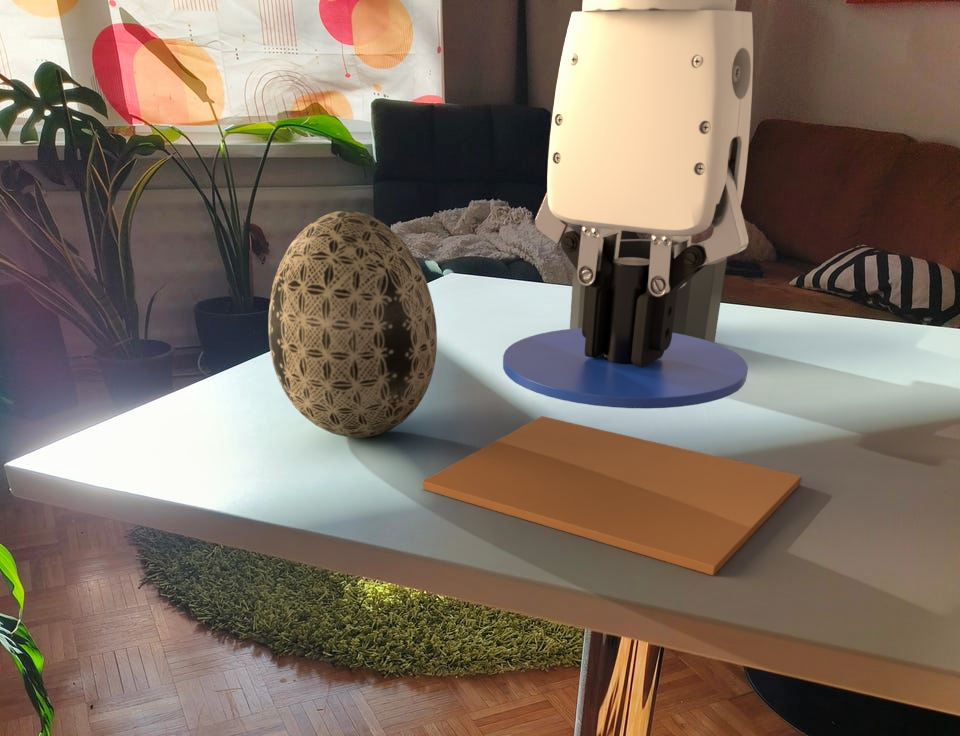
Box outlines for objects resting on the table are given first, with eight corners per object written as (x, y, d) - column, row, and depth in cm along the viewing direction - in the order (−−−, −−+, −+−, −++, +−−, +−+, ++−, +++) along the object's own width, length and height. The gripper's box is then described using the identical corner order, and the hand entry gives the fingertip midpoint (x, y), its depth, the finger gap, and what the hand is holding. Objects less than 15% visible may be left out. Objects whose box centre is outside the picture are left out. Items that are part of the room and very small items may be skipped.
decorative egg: (254, 426, 67) (224, 208, 59) (387, 397, 73) (376, 194, 65) (327, 476, 60) (303, 233, 51) (470, 439, 65) (469, 215, 57)
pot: (743, 336, 89) (758, 245, 84) (663, 385, 76) (676, 280, 71) (621, 316, 96) (629, 230, 91) (528, 358, 82) (532, 260, 78)
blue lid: (778, 370, 56) (800, 256, 52) (684, 439, 46) (704, 304, 42) (575, 333, 63) (582, 230, 59) (455, 386, 53) (454, 266, 49)
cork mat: (800, 484, 59) (802, 475, 59) (713, 576, 49) (715, 566, 48) (541, 423, 68) (541, 415, 68) (422, 489, 58) (422, 480, 58)
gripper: (850, -23, 42) (775, 365, 53) (557, -15, 50) (541, 323, 60) (800, -34, 37) (728, 398, 47) (481, -23, 45) (478, 348, 55)
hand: (624, 354), depth 54 cm, fingers closed on blue lid, 2 cm apart
